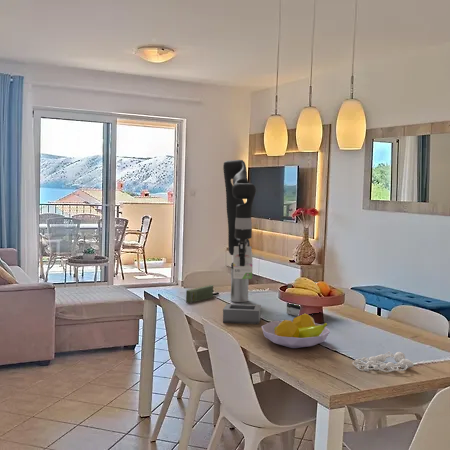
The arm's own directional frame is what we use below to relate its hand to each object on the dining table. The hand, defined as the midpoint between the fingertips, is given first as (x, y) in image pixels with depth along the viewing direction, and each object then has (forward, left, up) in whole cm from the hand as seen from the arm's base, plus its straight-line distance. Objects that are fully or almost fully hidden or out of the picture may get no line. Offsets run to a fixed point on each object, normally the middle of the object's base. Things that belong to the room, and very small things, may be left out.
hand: (242, 264), depth 254 cm
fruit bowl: (+33, +25, -26) cm, 49 cm away
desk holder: (0, 0, -25) cm, 25 cm away
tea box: (-19, +28, -26) cm, 42 cm away
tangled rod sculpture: (+56, +56, -26) cm, 83 cm away
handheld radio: (-42, -26, -26) cm, 56 cm away
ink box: (0, 0, -6) cm, 6 cm away
